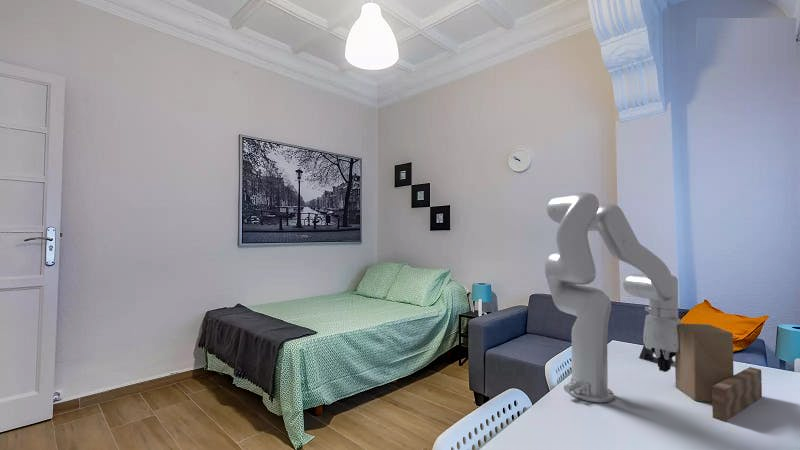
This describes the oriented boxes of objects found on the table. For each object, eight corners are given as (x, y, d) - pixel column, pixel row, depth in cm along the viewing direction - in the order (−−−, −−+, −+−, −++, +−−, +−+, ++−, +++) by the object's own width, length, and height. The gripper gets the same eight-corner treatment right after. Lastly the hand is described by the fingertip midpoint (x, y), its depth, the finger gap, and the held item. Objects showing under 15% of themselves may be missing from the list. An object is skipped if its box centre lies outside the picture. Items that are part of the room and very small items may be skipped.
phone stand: (639, 358, 140) (638, 327, 141) (647, 356, 143) (647, 325, 143) (664, 365, 132) (664, 332, 133) (673, 363, 135) (673, 330, 135)
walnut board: (724, 421, 92) (724, 389, 92) (712, 417, 94) (712, 386, 95) (761, 397, 107) (761, 369, 107) (750, 393, 109) (749, 367, 109)
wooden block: (735, 404, 102) (733, 332, 102) (695, 401, 104) (694, 330, 104) (710, 389, 112) (709, 324, 112) (674, 387, 113) (674, 322, 114)
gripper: (632, 310, 121) (633, 365, 120) (686, 318, 108) (687, 381, 108) (643, 307, 125) (643, 361, 124) (696, 316, 112) (697, 376, 112)
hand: (664, 370), depth 116 cm, fingers closed
